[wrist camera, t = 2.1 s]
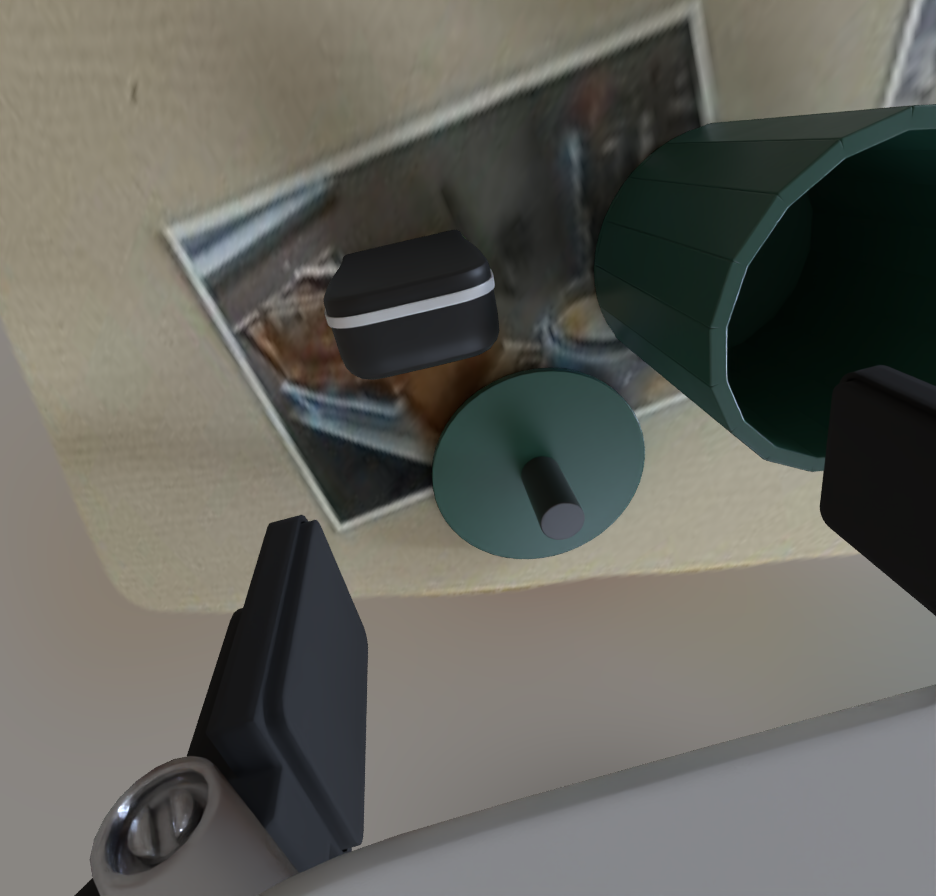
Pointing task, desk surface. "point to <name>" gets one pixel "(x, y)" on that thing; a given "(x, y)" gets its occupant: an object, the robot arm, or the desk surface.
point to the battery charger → (412, 305)
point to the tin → (778, 266)
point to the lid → (537, 463)
